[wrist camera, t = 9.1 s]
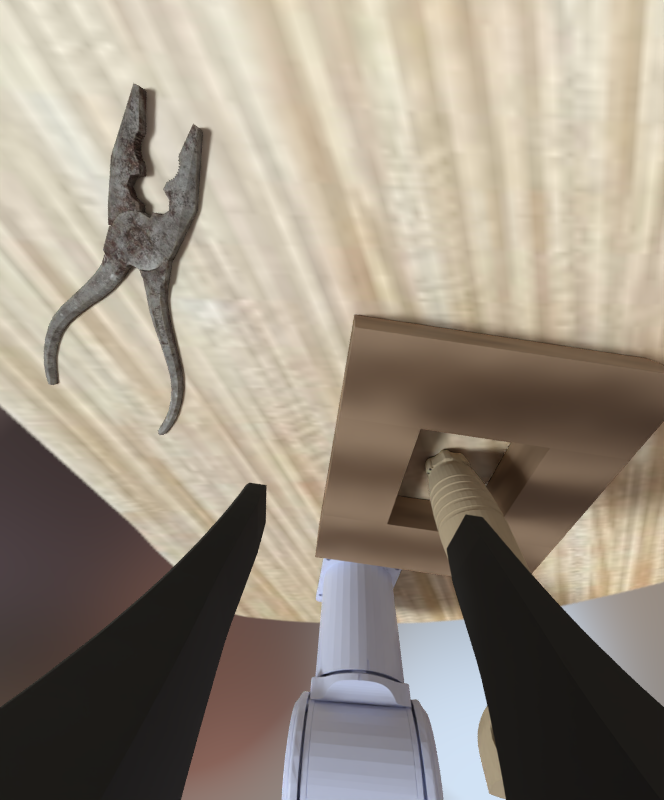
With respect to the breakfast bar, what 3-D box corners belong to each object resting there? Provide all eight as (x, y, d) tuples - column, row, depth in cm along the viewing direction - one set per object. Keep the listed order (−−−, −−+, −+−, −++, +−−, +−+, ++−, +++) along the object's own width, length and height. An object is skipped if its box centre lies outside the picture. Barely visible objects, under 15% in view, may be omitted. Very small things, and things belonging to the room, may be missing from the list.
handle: (400, 484, 23) (461, 792, 10) (432, 424, 20) (580, 753, 7) (454, 497, 24) (581, 812, 10) (494, 439, 20) (746, 784, 7)
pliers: (47, 403, 21) (-31, 12, 11) (58, 397, 22) (-7, 26, 12) (175, 441, 22) (202, 113, 12) (181, 435, 23) (210, 120, 13)
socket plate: (504, 553, 27) (520, 586, 24) (318, 526, 26) (315, 556, 24) (646, 358, 17) (700, 378, 14) (354, 314, 17) (354, 327, 14)
